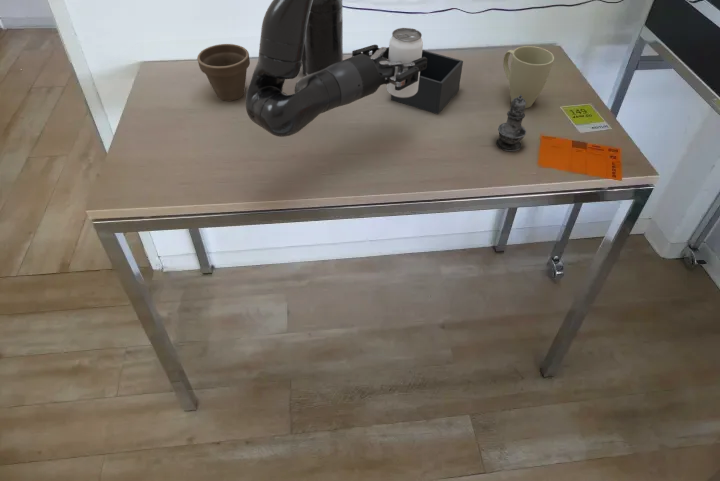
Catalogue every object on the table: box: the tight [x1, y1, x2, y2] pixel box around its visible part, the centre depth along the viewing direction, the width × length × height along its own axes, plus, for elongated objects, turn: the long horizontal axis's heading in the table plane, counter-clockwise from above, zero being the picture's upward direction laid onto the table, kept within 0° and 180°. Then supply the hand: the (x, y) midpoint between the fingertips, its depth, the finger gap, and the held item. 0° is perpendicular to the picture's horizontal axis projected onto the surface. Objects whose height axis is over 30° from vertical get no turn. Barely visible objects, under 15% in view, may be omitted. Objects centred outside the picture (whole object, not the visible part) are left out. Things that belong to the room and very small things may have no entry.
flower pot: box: [197, 43, 251, 102], centre depth 130 cm, size 12×11×10 cm
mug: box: [502, 45, 555, 109], centre depth 129 cm, size 11×10×12 cm
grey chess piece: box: [496, 95, 527, 152], centre depth 117 cm, size 6×6×12 cm
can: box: [386, 27, 424, 98], centre depth 111 cm, size 6×6×12 cm
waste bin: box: [390, 49, 464, 115], centre depth 132 cm, size 12×12×8 cm
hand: (412, 55), depth 111 cm, fingers closed on can, 6 cm apart
